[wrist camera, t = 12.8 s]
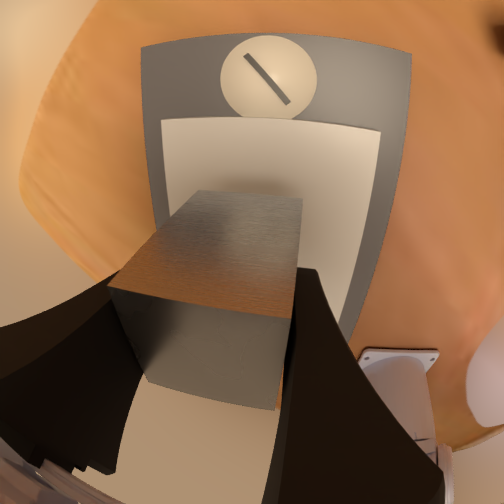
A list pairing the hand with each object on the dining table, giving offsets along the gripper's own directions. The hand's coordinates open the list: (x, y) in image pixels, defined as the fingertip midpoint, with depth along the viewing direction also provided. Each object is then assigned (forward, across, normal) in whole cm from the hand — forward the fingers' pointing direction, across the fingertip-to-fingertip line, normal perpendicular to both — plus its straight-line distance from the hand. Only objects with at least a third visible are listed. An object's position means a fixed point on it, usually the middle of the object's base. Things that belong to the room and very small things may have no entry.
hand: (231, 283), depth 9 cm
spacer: (+3, 0, 0) cm, 3 cm away
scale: (+8, 0, +2) cm, 9 cm away
